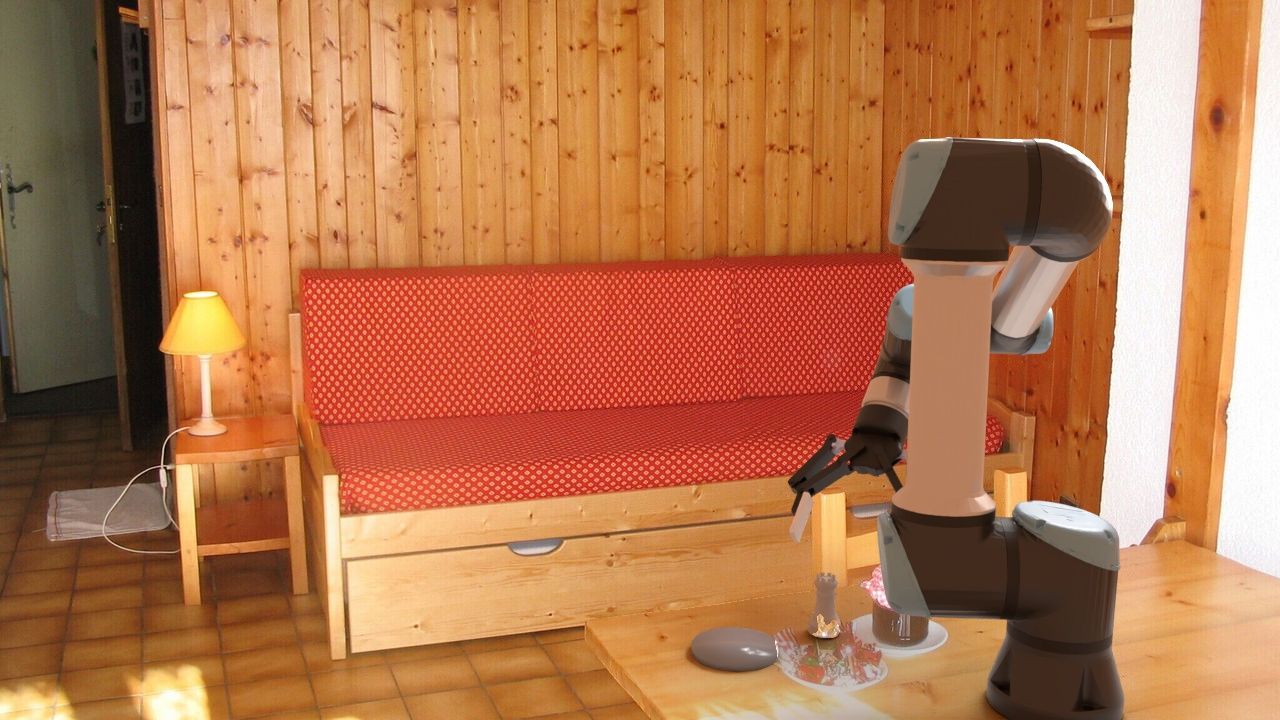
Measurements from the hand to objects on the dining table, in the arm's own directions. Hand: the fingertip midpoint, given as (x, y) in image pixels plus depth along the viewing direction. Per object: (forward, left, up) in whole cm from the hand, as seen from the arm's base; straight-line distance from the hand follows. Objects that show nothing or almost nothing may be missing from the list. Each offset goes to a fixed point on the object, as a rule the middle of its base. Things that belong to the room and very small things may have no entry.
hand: (839, 546), depth 171 cm
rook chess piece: (-1, +6, -10) cm, 12 cm away
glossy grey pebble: (+6, +18, -10) cm, 21 cm away
